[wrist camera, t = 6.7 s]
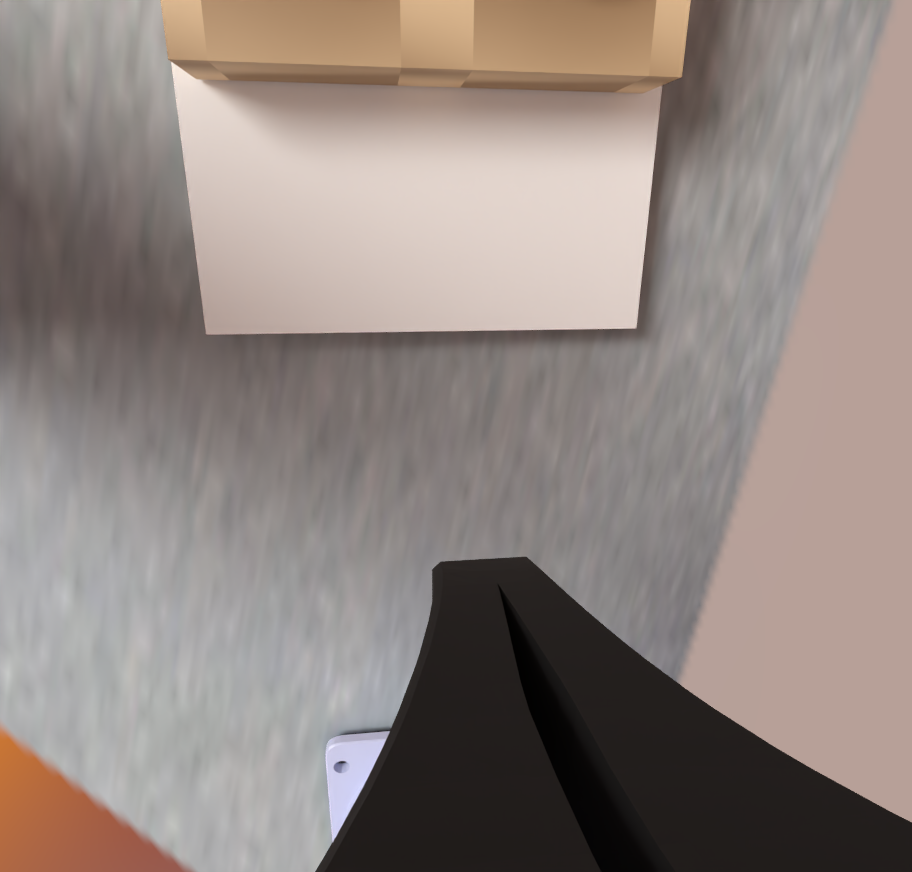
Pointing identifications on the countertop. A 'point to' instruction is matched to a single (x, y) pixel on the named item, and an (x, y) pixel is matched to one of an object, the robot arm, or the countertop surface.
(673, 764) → the robot arm
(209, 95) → the mounting plate
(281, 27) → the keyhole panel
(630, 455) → the countertop surface
